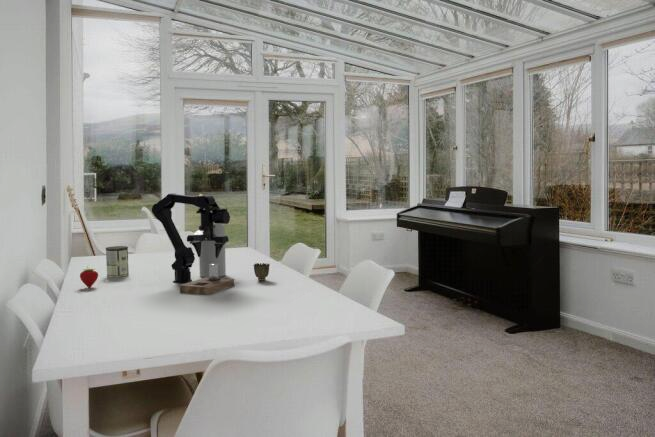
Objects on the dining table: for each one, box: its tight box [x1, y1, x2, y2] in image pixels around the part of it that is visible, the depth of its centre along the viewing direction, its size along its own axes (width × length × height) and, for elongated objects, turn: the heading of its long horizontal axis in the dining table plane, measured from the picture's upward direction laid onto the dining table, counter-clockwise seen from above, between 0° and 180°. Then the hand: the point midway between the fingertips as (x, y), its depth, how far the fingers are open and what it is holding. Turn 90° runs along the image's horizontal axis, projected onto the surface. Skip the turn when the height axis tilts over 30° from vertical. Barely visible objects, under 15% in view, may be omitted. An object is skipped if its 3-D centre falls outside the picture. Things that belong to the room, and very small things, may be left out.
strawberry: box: [79, 265, 99, 288], centre depth 241 cm, size 6×8×10 cm
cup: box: [253, 262, 270, 282], centre depth 256 cm, size 8×7×8 cm
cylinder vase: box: [198, 223, 227, 278], centre depth 269 cm, size 12×12×25 cm
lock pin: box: [209, 264, 219, 281], centre depth 243 cm, size 4×4×10 cm
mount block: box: [179, 277, 235, 296], centre depth 238 cm, size 14×21×3 cm, turn 160°
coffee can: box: [105, 245, 129, 278], centre depth 271 cm, size 10×10×14 cm
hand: (207, 257), depth 249 cm, fingers open, 9 cm apart
